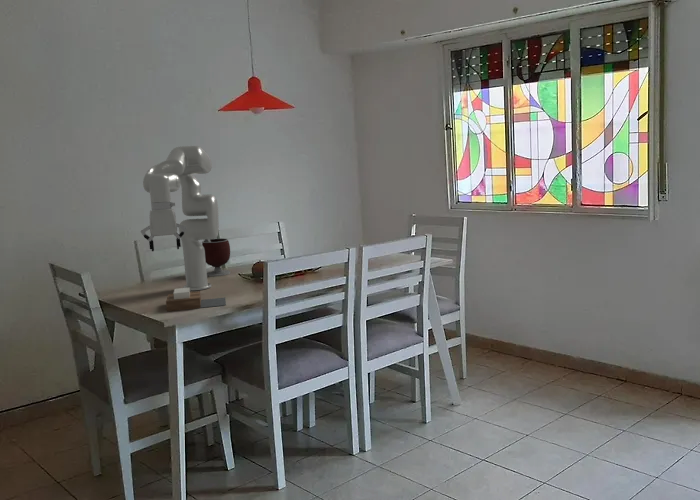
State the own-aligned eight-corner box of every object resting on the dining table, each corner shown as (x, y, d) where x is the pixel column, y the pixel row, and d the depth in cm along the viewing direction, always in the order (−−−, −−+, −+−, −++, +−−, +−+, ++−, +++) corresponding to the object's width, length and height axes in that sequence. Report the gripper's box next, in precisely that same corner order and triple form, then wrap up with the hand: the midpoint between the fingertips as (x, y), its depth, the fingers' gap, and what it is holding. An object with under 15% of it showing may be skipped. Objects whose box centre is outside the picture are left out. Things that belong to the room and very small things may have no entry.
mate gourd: (237, 271, 348) (234, 232, 345) (222, 276, 336) (218, 236, 332) (211, 270, 354) (208, 232, 351) (195, 276, 341) (192, 236, 338)
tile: (175, 294, 281) (174, 288, 280) (190, 293, 282) (189, 287, 282) (174, 299, 272) (173, 293, 272) (189, 297, 273) (189, 291, 273)
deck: (169, 303, 283) (168, 294, 283) (201, 300, 286) (200, 291, 285) (167, 311, 270) (166, 301, 269) (200, 308, 272) (199, 298, 272)
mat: (201, 300, 286) (201, 299, 286) (225, 298, 288) (225, 297, 288) (200, 308, 272) (200, 307, 272) (225, 305, 274) (225, 304, 274)
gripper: (184, 204, 272) (188, 246, 274) (139, 207, 268) (143, 250, 271) (184, 205, 265) (188, 249, 267) (137, 208, 261) (142, 253, 263)
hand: (165, 249), depth 269 cm, fingers open, 9 cm apart
